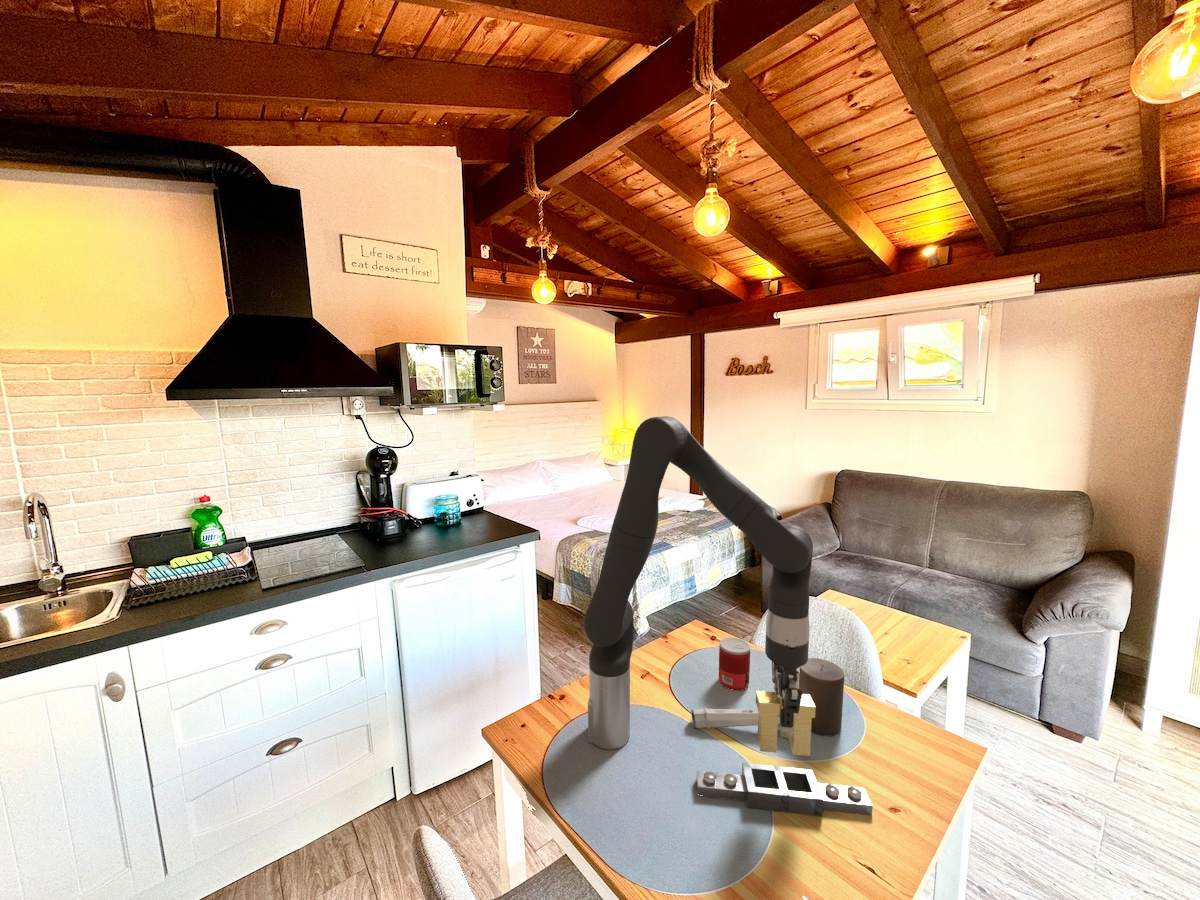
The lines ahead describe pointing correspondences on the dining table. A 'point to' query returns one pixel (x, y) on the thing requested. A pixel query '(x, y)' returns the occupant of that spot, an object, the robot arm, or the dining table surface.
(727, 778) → the chain ends
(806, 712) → the wooden u-shaped block
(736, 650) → the canned food
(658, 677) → the dining table surface
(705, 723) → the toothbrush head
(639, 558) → the robot arm
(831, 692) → the pillar candle
